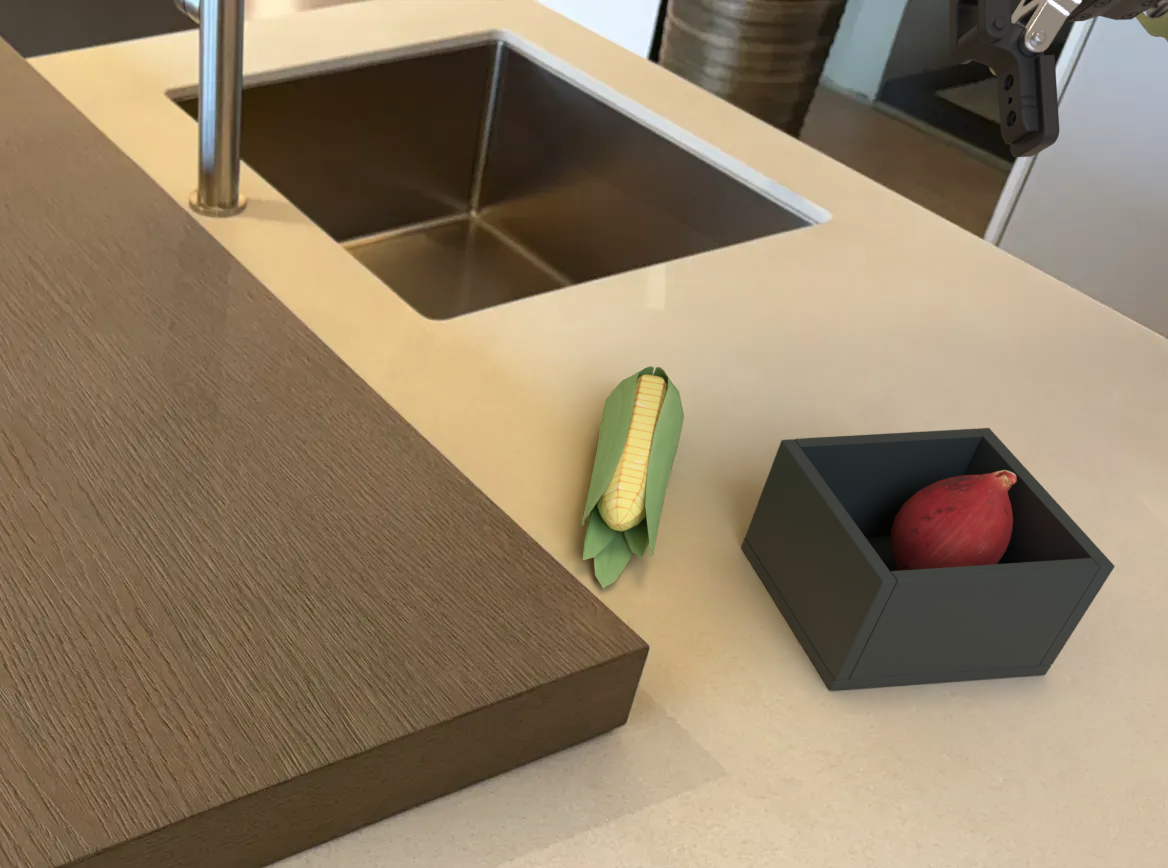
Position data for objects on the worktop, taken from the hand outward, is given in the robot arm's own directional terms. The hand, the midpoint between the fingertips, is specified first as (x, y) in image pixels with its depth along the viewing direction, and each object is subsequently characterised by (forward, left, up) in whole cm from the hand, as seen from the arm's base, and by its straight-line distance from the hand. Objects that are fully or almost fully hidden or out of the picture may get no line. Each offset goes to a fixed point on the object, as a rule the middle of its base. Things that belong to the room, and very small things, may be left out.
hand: (1125, 147), depth 61 cm
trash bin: (+1, +1, -27) cm, 27 cm away
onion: (+1, 0, -25) cm, 25 cm away
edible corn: (+13, -11, -27) cm, 32 cm away
